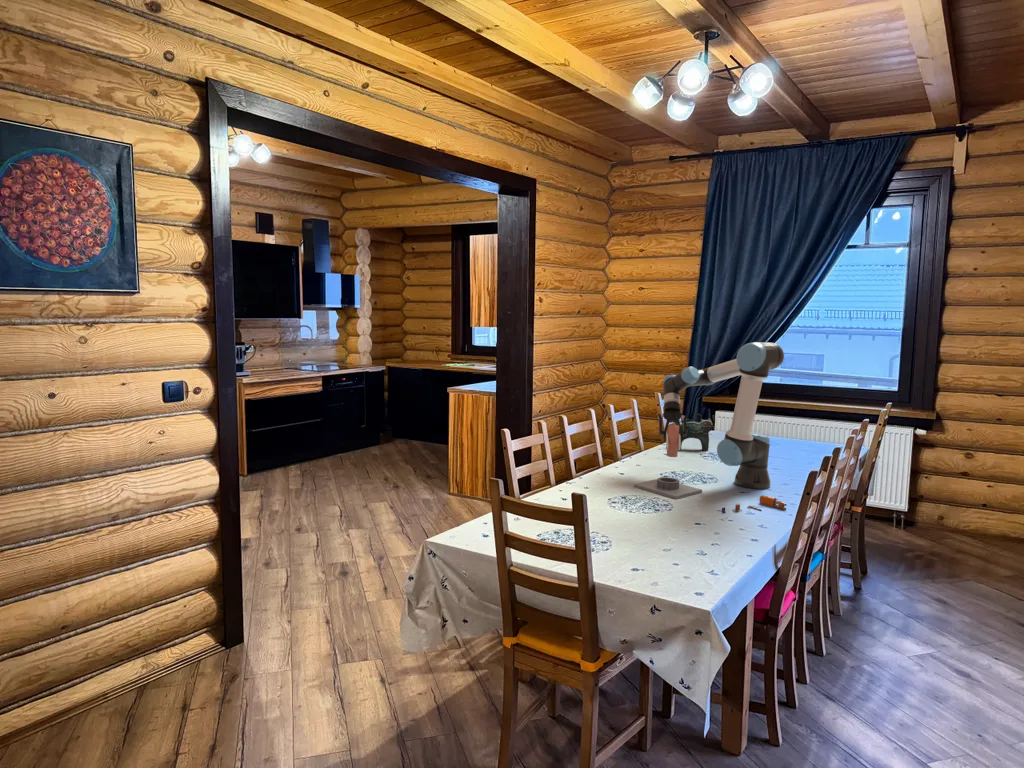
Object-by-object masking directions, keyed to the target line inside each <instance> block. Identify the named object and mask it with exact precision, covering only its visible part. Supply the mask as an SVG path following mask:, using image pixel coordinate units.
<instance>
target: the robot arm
mask: <svg viewBox="0 0 1024 768" xmlns="http://www.w3.org/2000/svg"><path fill="white" fill-rule="evenodd" d="M784 360H785V353H784V349H783V348H782V347H781V346H780V345H778V344H777V343H775V342H768V341H767V342H759V341H758V342H757V341H753V342H747V343H746V344H744V345H742V346H741V347H740V348H739V349H738V351H737V354H736V358H734V359H732V360H728V361H725V362H722V363H718V364H716V365H712V366H710V367H706V368H704V369H703V368H702V369H697V368H696V367H694V366H688V367H686V368H684V369H682V370H681V371H680V372H678V374H669V375H666V376H665V377H664V378H663V384H662V387H663V413H662V414H660V413H658V414H657V420H658V435H660V436H662V438H663V439H662V440H663V441H662V442H664V443H665V450H667V449H668V425H670V424H672V423H673V424H674V425H679V438H678V450H681V449H682V446H681V443H682V444H683V442H684V441H683V436H686V434H687V424H686V422H687V421H688V420H687V419H688V415H687V414H685V415H683V414H682V412H681V392H682V391H684V390H685V389H687V388H689V387H697V386H711V385H714V384H715V383H717V382H721V381H724V380H728V379H731V378H735V377H737V376H741V378H740V382H739V386H738V387H739V388H738V392H737V396H736V397H737V398H736V401H735V406H734V411H733V415H732V419H731V425H730V429H728V430H727V431H726V432H725V434H724V438H723V439H722V440H721V441H719V442H718V444H717V447H716V454H717V456H718V458H719V460H720V462H722V463H723V465H725V466H729V467H738V466H739V467H738V470H737V472H736V474H735V476H734V484H736V485H737V486H740V487H743V488H748V489H755V490H757V489H758V490H763V489H765V490H766V489H769V488H770V487H771V478H770V475H769V471H768V465H769V457H770V456H769V455H770V453H769V452H770V445H771V444H770V437H769V436H768V435H765V434H759V433H753V432H752V430H753V425H754V421H755V417H756V412H757V409H758V403H759V399H760V395H761V390H762V385H763V382H764V380H765V379H767V378H768V377H769V371H772V370H775V369H778V368H779V367H781V365H782V363H783V362H784ZM663 419H665V420H666V422H665V426H664V430H663ZM680 419H681V421H682V420H683V421H682V423H683V432H682V429H681V426H680V424H681V422H680ZM679 422H680V423H679ZM680 448H681V449H680Z"/></svg>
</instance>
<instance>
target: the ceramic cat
mask: <svg viewBox="0 0 1024 768" xmlns="http://www.w3.org/2000/svg"><path fill="white" fill-rule="evenodd" d="M698 415H699V416H700V417H701V418H700V420H699V421H694V420H692V419H689V418H687V420H686V424H687V434H686V436H683V442H684V441H686V440H687V439H697V440H699V441H700V444H701V451H703V452H704V451H705V452H709V447H710V445H709V444H710V434H709V433H710V432H711V431H712V430H713V422H712V419H711V418H710V417H709V418H708V419H703V417H702V415H701V414H700V413H696V414H695V415H694V417H696V416H698ZM679 423H680V426H681V429H682V432H683V420H682V419H681V420H679ZM683 442H682V443H681V448H680V450H682V446H683V445H682V444H683Z"/></svg>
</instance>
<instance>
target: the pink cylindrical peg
mask: <svg viewBox="0 0 1024 768" xmlns="http://www.w3.org/2000/svg"><path fill="white" fill-rule="evenodd" d="M667 434H668V449H666V457H670V458H677V457H678V438H679V425H675V423H673V424H672V423H669V425H668V429H667Z"/></svg>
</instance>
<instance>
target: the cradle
mask: <svg viewBox="0 0 1024 768" xmlns="http://www.w3.org/2000/svg"><path fill="white" fill-rule="evenodd" d="M633 487H634V488H637V489H640V490H644V491H647V492H651V493H654V494H657V495H661V496H664V497H667V498H669V499H674V500H679V499H681V498H683V499H684V498H686V497H689V496H694V495H697V494H701V493H703V489H701V488H697V487H694V486H690V485H687V484H682V483H681V482H680V479H677V478H674V477H666V476H664V477H663V476H662V477H657V478H655V479H652V480H651V479H650V480H647V481H643V482H637V483H634V485H633Z"/></svg>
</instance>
